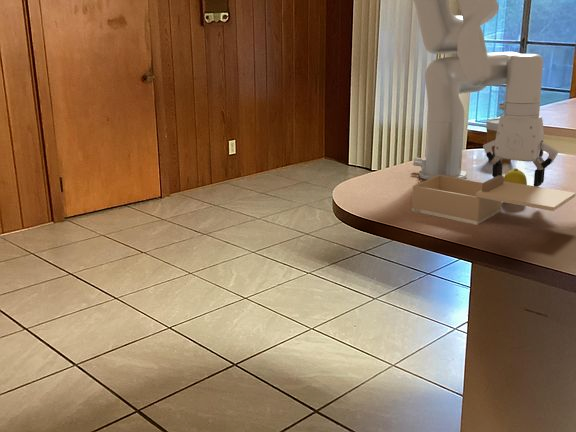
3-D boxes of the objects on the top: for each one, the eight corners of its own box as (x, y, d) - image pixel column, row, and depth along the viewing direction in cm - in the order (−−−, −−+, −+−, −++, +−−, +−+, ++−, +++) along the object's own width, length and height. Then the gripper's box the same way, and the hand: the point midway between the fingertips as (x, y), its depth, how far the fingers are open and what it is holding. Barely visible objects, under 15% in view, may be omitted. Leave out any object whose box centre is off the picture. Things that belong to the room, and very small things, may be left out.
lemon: (525, 198, 158) (528, 166, 156) (525, 205, 153) (528, 171, 151) (501, 196, 160) (503, 164, 157) (500, 203, 155) (503, 170, 152)
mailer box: (411, 210, 151) (412, 185, 149) (437, 198, 159) (439, 174, 158) (477, 224, 141) (479, 198, 139) (500, 211, 149) (503, 185, 147)
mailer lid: (475, 196, 139) (476, 184, 138) (500, 184, 148) (501, 172, 147) (553, 211, 129) (554, 198, 128) (575, 196, 138) (576, 184, 137)
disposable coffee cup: (514, 158, 197) (518, 118, 193) (517, 166, 188) (521, 124, 184) (481, 157, 199) (484, 117, 195) (483, 165, 190) (486, 123, 186)
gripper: (478, 109, 152) (475, 181, 157) (554, 114, 141) (548, 191, 146) (492, 105, 158) (489, 175, 162) (566, 110, 146) (560, 184, 151)
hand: (517, 182), depth 154 cm, fingers open, 9 cm apart
